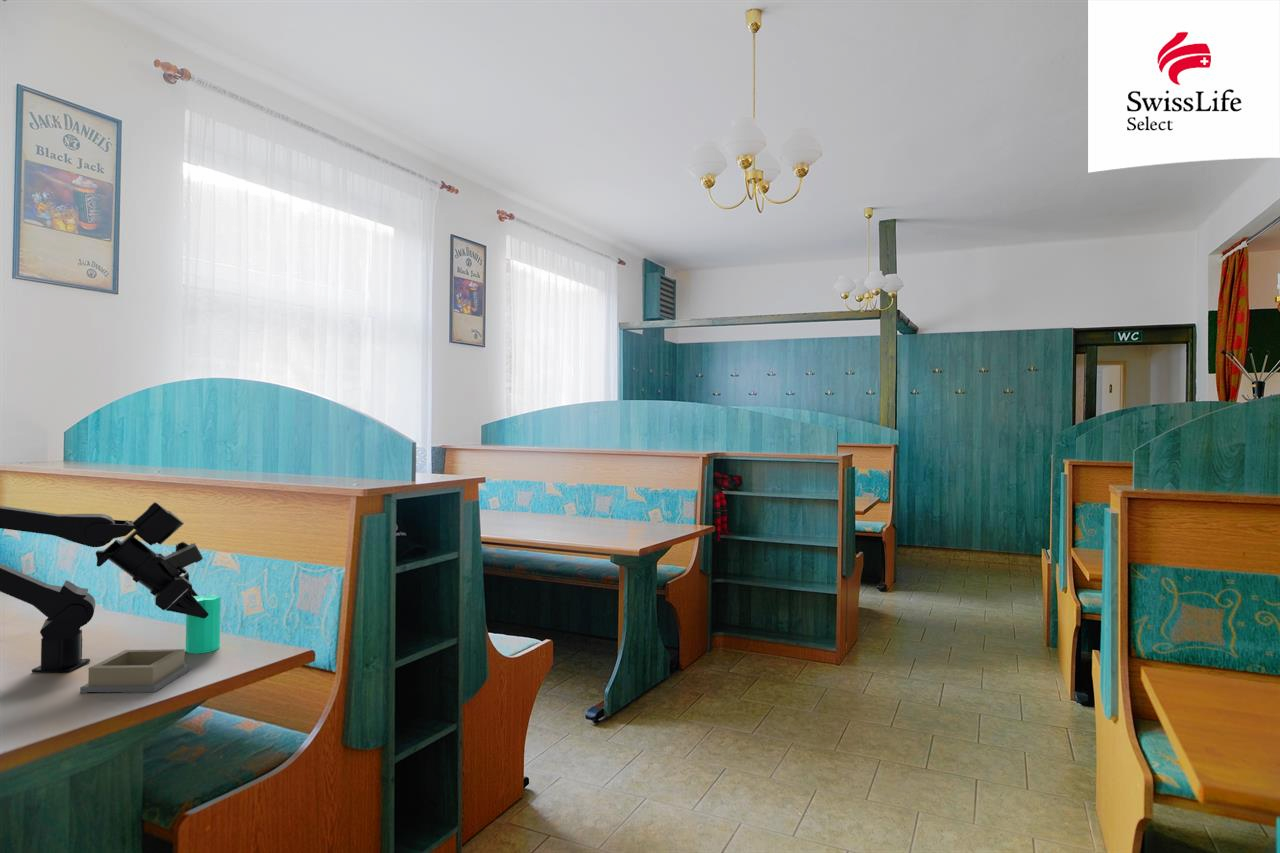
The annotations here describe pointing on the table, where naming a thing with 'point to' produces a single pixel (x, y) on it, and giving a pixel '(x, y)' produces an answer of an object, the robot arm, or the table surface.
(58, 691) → the table surface
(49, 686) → the table surface
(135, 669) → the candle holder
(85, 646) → the table surface
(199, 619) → the candle
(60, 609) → the robot arm
